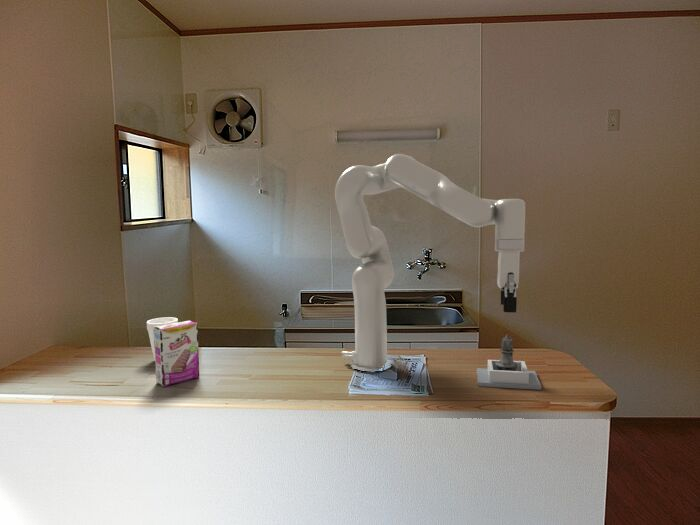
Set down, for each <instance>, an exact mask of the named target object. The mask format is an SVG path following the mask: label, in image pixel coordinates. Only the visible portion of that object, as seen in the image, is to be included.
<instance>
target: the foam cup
mask: <svg viewBox="0 0 700 525" xmlns="http://www.w3.org/2000/svg"><path fill="white" fill-rule="evenodd" d="M178 322H179V319H178V318H177V317H174V316H173V317H171V316H168V317H157V318H152V319H149V320H147V321H146V330H147V332H148V337H149V342H150V346H151V352H152V356H153V360H154V361H155V347H154V327H155V326H161V325H166V324H172V323H178Z"/></svg>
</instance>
